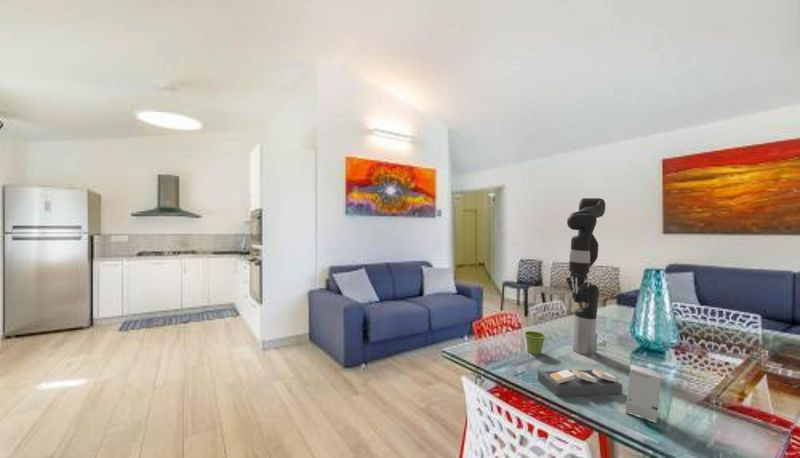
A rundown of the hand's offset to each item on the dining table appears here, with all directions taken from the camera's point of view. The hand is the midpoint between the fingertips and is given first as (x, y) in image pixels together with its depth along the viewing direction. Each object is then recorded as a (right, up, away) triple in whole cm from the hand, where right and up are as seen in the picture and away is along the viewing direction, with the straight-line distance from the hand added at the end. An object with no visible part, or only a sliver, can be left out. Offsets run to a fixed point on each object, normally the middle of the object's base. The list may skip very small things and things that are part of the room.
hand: (577, 302), depth 137 cm
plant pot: (-10, -29, +19) cm, 36 cm away
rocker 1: (-15, -24, -17) cm, 33 cm away
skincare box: (+4, -30, -31) cm, 43 cm away
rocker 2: (-6, -24, -16) cm, 30 cm away
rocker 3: (+2, -25, -15) cm, 29 cm away
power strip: (-4, -29, -13) cm, 32 cm away
